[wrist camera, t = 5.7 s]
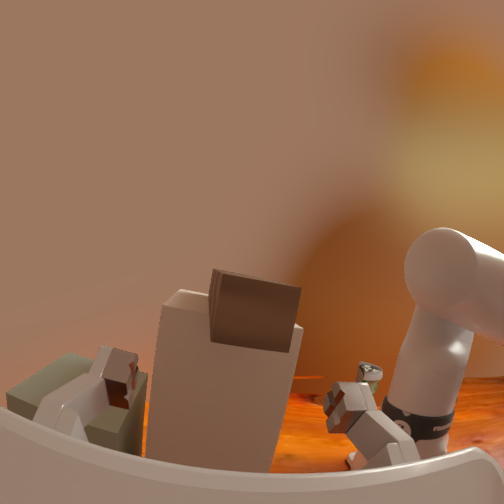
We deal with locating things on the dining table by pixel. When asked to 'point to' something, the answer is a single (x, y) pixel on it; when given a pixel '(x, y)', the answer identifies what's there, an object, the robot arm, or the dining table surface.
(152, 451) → the white pedestal
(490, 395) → the dining table surface
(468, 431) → the dining table surface
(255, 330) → the walnut bar
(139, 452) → the sage base
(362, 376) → the food container
